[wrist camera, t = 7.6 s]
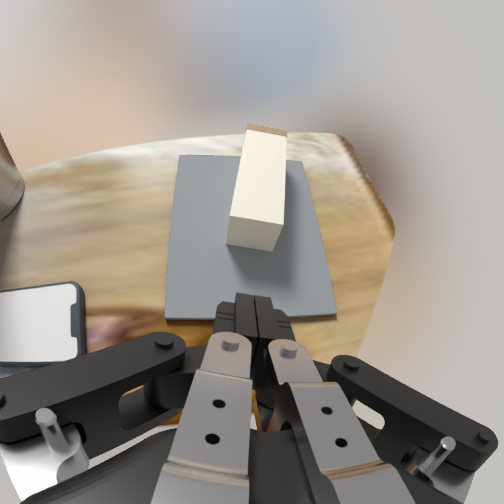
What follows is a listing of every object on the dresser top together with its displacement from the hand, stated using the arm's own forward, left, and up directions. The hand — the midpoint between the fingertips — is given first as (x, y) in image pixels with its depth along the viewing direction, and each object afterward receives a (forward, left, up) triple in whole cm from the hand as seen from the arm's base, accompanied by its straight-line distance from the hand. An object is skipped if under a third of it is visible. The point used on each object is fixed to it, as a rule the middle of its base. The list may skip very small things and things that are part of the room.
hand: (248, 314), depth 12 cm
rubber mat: (+3, +15, -15) cm, 21 cm away
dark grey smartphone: (-22, +2, -15) cm, 27 cm away
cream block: (+3, +12, -11) cm, 17 cm away
